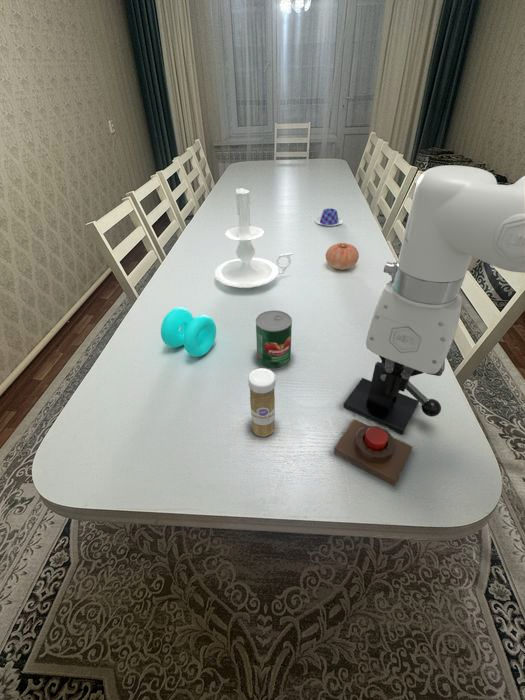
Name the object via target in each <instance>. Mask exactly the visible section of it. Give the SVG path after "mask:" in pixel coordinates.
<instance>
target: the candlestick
mask: <svg viewBox="0 0 525 700" xmlns="http://www.w3.org/2000/svg"><path fill="white" fill-rule="evenodd" d="M250 198H251V197H250V190H248V189H246V188H244V187H240V188H236V189H235V201H236V208H237V215H238V225H239V226H234V227H232V228H229V229H228V230H226V231H225V232H224V234H225V237H227V238H228V239H230V240H235V241H238V245H237V247H236V250H235V254H236V256H237V258H235V259H231V260H226V261H224V262H223V263H221V264H219V265H218V266H217V267H216V268H215V269H214V271H213V276H214V278H215V279H216V280H217V282H219V283H221V284H223V285H225V286H228V287H233V288H237V289H253V288H258V287H260V286H264V285H266V284H269V283H271V282H272V281H274V280H275V279H277V278H278V276H279V275H283V274H285V272H286V270H287V268H289V267H290V265H291V263H292V261H291V256H293V252H289V253H282V254H281V253H280V254H279V255H278V256H277V257H276V260H275V263H276V264H275V263H274V262H272V261H270V260H267V259H263V258H259V257H255V254H256V249H255V247H254V245H253V244H252V242H251V241H252V240H255V239H259V238H261V237H262V236H264V233H265V231H264V229H262V228H261V227H258V226H253V225H251V199H250ZM281 258H287V260H288V262H287V263H286V264H284V265H281V264H280V263H279V260H280V259H281ZM279 268H280V269H282V271H280V269H279Z"/></svg>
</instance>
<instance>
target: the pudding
mask: <svg viewBox="0 0 525 700" xmlns="http://www.w3.org/2000/svg"><path fill="white" fill-rule="evenodd" d="M338 215H339V214H338V210H337V209H336V208H324V209H323V210H322V213H321V216H320V217H319V216H318V217H317V218H315V220H314V222H315V223H316V224H318V225H321V226H328V227H331V226H332V227H334V226H338V225H342V224H343V223H344V220H343V219H342V218H340V217H339V216H338Z"/></svg>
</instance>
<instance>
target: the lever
mask: <svg viewBox="0 0 525 700" xmlns="http://www.w3.org/2000/svg"><path fill="white" fill-rule="evenodd" d="M383 364H384V363H383ZM401 369H402V368H401ZM405 391H407V392H408V393H409V394H410V395H411V396H412V397H413V398H414V399H415V400H418V401H419V403H420V404H421V411H422V413H423V414H424V415H425V416H427V417H433V418H434V417H437V416H439V414H440V413H441V412H442V405H441V403H440V402H439V401H438V400H437V399H434V398H428V397H426V395H424V394H423V393H422V392H421V391H420V390H419V389H418V388H417V387H416V386H415V385H414V384H412V382H411V381H410V380H409V381H408V384H407V387H406V389H405Z"/></svg>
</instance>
